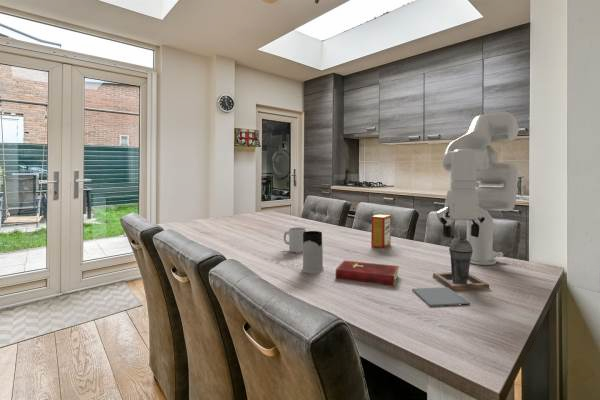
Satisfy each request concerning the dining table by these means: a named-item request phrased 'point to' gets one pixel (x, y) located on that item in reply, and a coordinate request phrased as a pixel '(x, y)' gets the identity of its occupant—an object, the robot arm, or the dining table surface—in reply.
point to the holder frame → (475, 285)
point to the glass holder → (312, 252)
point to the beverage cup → (460, 259)
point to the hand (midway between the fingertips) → (460, 236)
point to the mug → (295, 239)
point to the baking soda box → (381, 231)
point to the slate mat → (439, 296)
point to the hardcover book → (367, 272)
